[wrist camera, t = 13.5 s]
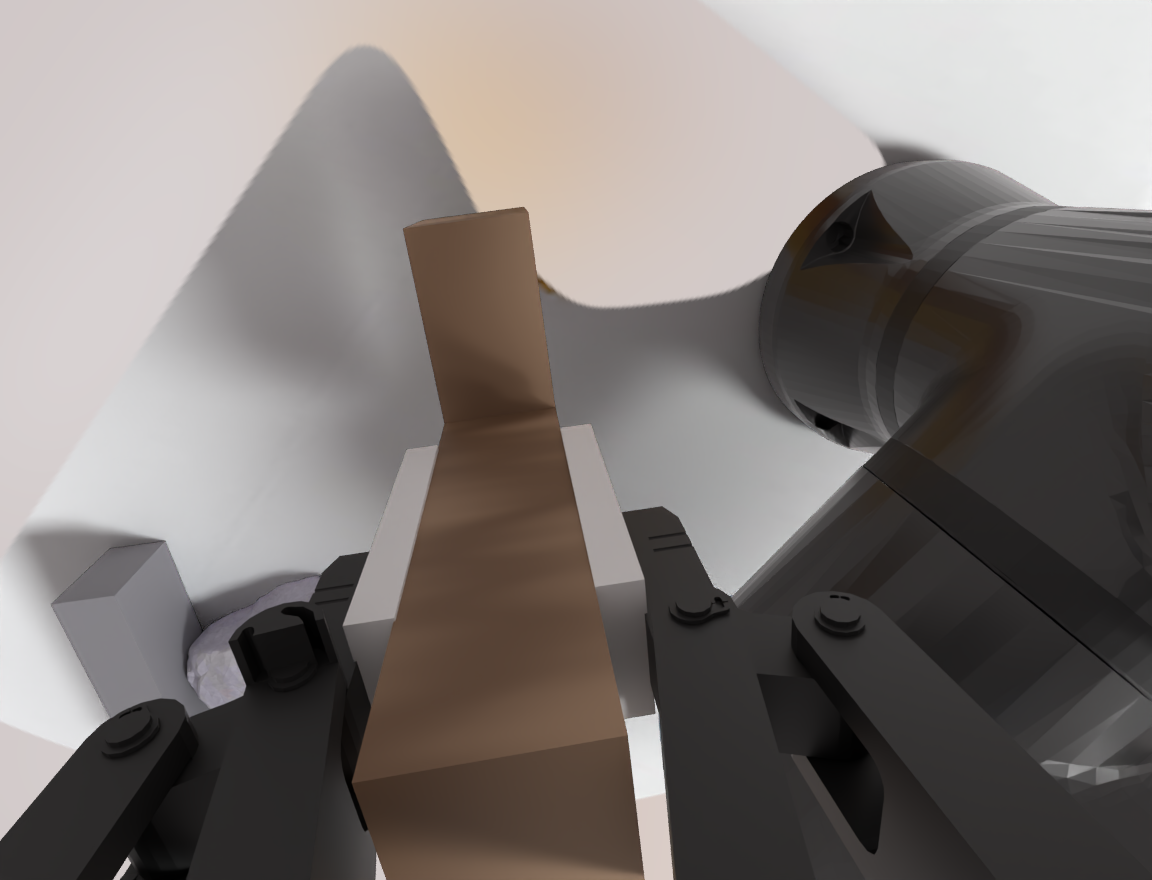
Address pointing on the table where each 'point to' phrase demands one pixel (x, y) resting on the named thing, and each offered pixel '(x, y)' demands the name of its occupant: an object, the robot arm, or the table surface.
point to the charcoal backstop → (133, 628)
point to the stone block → (213, 656)
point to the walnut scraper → (496, 608)
